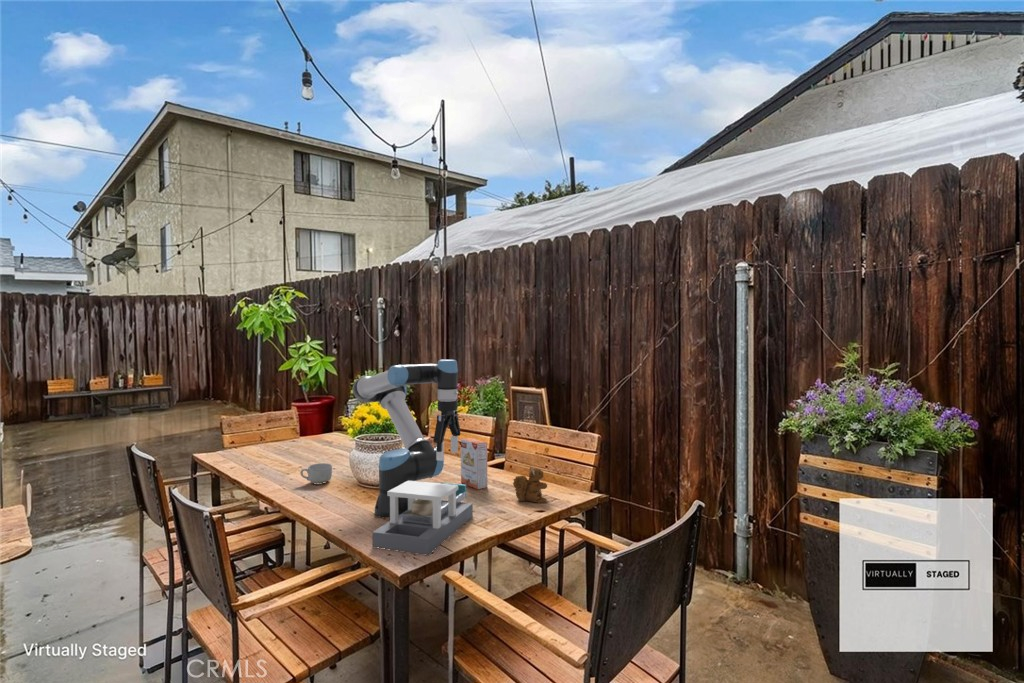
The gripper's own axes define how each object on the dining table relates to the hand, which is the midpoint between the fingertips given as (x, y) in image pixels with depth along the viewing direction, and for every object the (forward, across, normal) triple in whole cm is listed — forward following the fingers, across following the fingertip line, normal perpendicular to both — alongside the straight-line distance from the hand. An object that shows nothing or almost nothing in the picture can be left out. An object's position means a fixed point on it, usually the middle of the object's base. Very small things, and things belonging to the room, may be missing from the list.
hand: (447, 456), depth 193 cm
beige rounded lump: (+17, -19, 0) cm, 26 cm away
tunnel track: (+22, -17, 0) cm, 28 cm away
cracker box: (+23, +39, +4) cm, 45 cm away
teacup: (+23, +22, +76) cm, 83 cm away
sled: (+17, -10, 0) cm, 19 cm away
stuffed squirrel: (+22, +26, -26) cm, 43 cm away
